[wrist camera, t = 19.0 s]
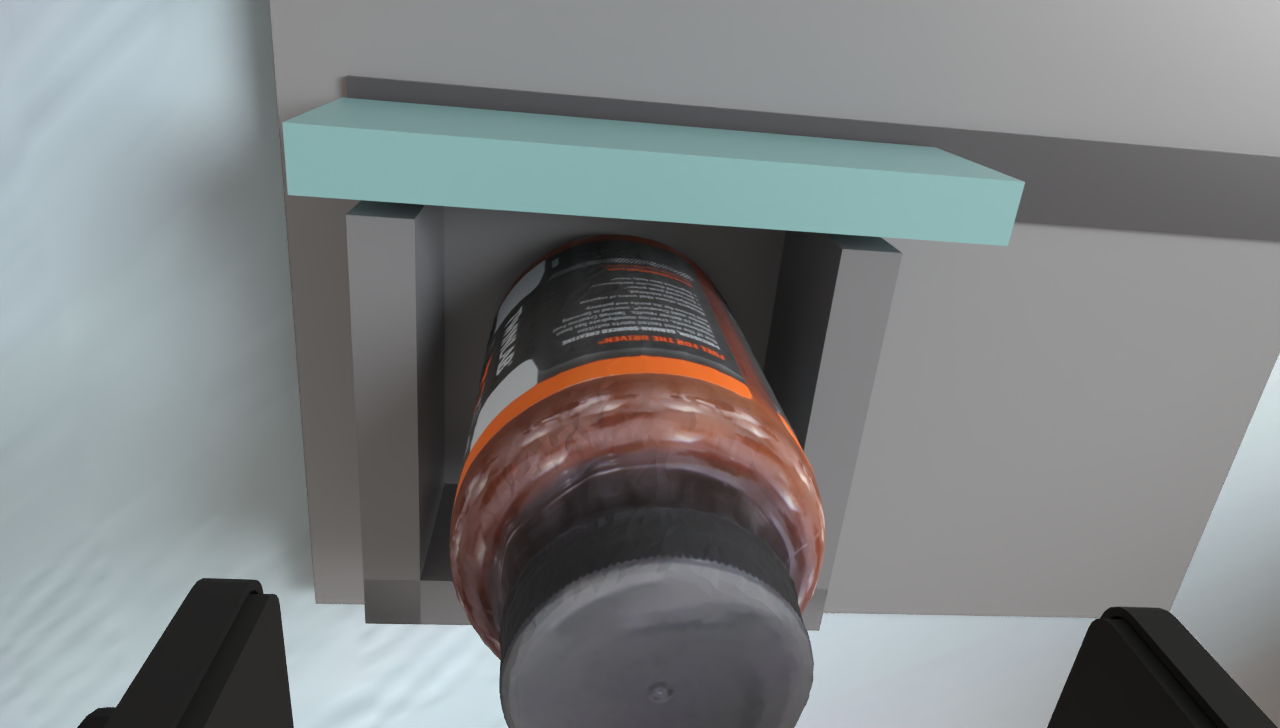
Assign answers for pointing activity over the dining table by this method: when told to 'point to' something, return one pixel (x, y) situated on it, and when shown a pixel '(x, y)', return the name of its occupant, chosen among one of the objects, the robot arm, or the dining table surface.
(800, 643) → the supplement bottle
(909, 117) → the housing
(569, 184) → the bar
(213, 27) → the dining table surface
